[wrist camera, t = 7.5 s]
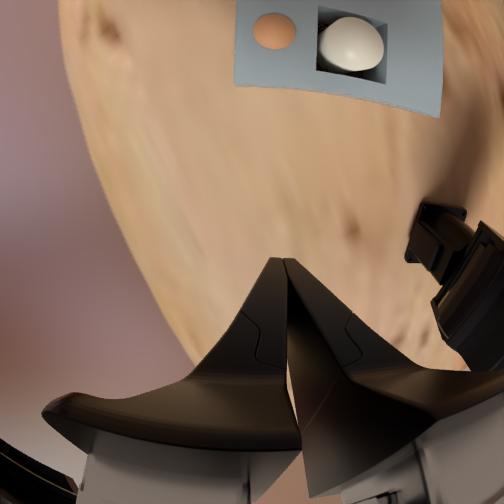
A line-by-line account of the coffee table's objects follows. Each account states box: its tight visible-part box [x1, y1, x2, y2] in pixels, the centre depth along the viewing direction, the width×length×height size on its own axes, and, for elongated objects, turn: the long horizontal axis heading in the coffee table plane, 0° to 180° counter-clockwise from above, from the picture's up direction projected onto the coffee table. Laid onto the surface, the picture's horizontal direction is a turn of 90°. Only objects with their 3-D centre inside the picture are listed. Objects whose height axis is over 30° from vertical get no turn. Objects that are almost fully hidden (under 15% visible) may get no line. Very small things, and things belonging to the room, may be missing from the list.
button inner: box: [316, 17, 384, 73], centre depth 13 cm, size 4×4×4 cm
